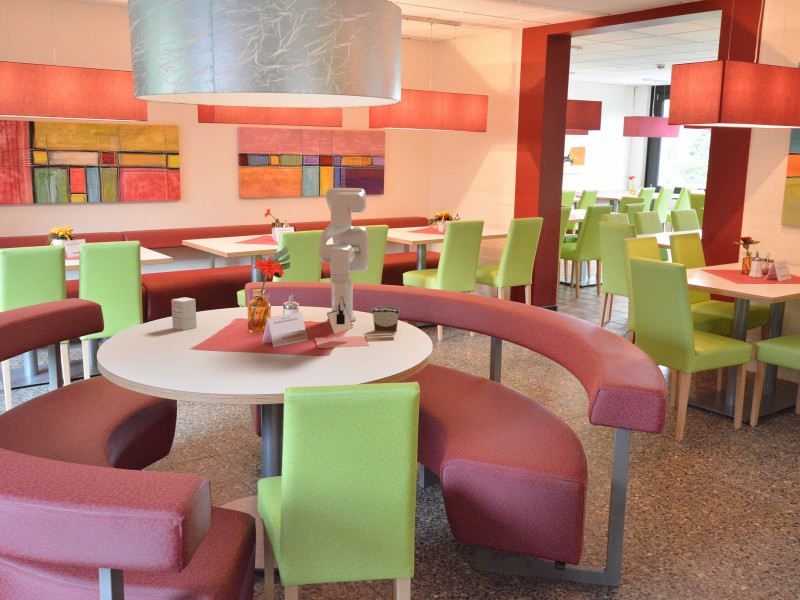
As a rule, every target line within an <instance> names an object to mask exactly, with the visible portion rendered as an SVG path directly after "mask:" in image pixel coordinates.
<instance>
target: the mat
mask: <svg viewBox="0 0 800 600" xmlns="http://www.w3.org/2000/svg"><path fill="white" fill-rule="evenodd" d="M332 337H333V338H330V339H326V338H324V337H314V338H315V339H314V342H315V341H316V342H315V344H316V346H318V347H317V349H318V348H325V349H334V348H346V347H348V348H350V347H352V348H353V347H369V346H370V344H369V343H368V341H367V340H366V339H365V336H363V335H356V336H352V335H351V336H332Z"/></svg>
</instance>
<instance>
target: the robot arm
mask: <svg viewBox="0 0 800 600" xmlns="http://www.w3.org/2000/svg"><path fill="white" fill-rule="evenodd" d="M325 200H326V203H327V206H328V208H329V211H330V223H329V224H328V226H327V227H325V228H324V229H323V231H322V233H321V235H320V238H319V241H318V242H319V248H318V257H319V260H320V262H321V263H324V264H329V267H330V283H331V312H332V311H334V310H337V324H345V314H344V307H346V309H347V312H348V315H349V318H350V321H351V322H354V321H356V320H357V317H356V316H355V315H354V314H353V313H354V311H353V308H354V306H353V305H354V304H353V302H354V301H353V299H354V298H353V294H354V291H353V288H354V287H353V280H352V277H351V276H350V273H356V272H357V273H358V272H359V273H360V272H363V273H364V272H366V271H367V270H368V267H369V261H370V260H369V259H370V258H369V234H368V233H369V232H368V229H367V228H366V227H365V226H358V225H356V226H354V225H353V226H352V213H363V212H365V210H366V207H367V193H366V191H365V189H363V188H361V187H358V188H357V187H356V188H355V187H331V188H328V189H327V190H326V192H325ZM331 238H332V244H327V242H328V241H329V240H330V239H331ZM355 249H357V250H355Z"/></svg>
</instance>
